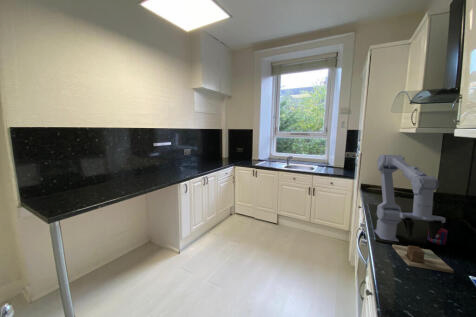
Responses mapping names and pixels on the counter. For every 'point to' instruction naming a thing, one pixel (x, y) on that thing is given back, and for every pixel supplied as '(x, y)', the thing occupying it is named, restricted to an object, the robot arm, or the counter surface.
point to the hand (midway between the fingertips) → (420, 236)
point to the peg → (415, 254)
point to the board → (429, 260)
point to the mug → (439, 237)
